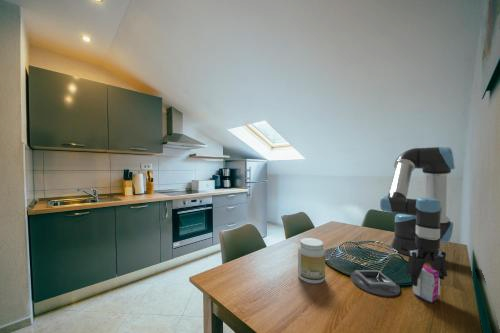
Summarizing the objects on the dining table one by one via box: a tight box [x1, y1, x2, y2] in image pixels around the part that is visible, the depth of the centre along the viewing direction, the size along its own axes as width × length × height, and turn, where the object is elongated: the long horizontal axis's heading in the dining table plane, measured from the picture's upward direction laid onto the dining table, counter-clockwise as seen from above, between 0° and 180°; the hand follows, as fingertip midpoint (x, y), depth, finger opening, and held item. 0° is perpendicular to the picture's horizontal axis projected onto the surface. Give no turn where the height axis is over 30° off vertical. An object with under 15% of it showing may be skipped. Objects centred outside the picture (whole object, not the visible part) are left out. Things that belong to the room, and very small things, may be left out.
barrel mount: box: [350, 269, 401, 298], centre depth 93 cm, size 19×19×3 cm
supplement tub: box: [297, 237, 326, 284], centre depth 97 cm, size 12×12×17 cm
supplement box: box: [413, 264, 439, 304], centre depth 83 cm, size 6×6×12 cm
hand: (426, 293), depth 83 cm, fingers closed on supplement box, 7 cm apart
